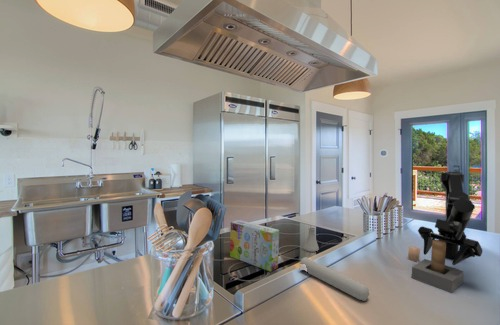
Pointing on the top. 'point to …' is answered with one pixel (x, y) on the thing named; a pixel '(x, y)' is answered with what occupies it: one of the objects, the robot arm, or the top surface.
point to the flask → (311, 241)
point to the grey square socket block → (437, 276)
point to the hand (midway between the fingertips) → (438, 259)
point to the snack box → (254, 244)
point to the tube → (336, 279)
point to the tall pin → (438, 256)
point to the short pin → (413, 253)
